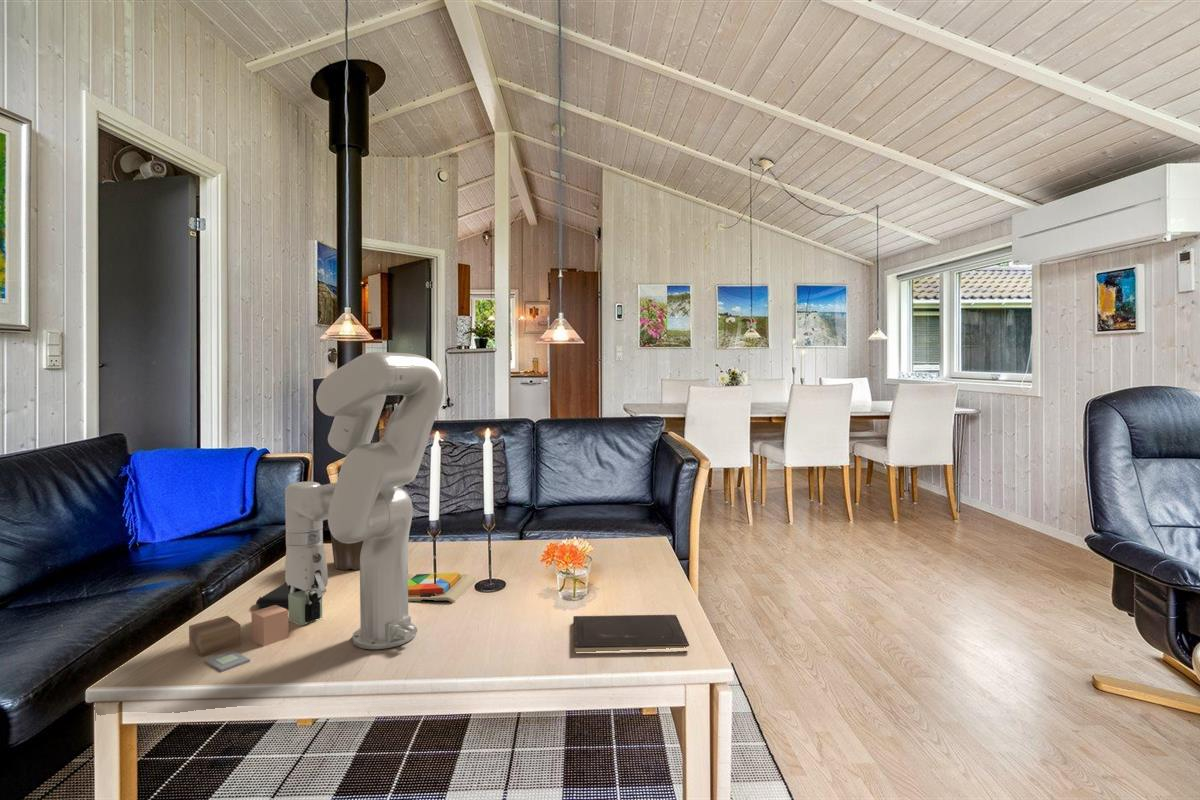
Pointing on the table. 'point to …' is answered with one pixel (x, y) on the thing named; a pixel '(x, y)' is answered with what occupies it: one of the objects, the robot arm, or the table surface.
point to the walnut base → (214, 635)
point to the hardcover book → (627, 633)
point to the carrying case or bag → (276, 597)
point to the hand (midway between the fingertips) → (305, 616)
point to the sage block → (299, 607)
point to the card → (227, 660)
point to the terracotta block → (269, 625)
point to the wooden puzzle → (438, 586)
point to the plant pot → (346, 554)
